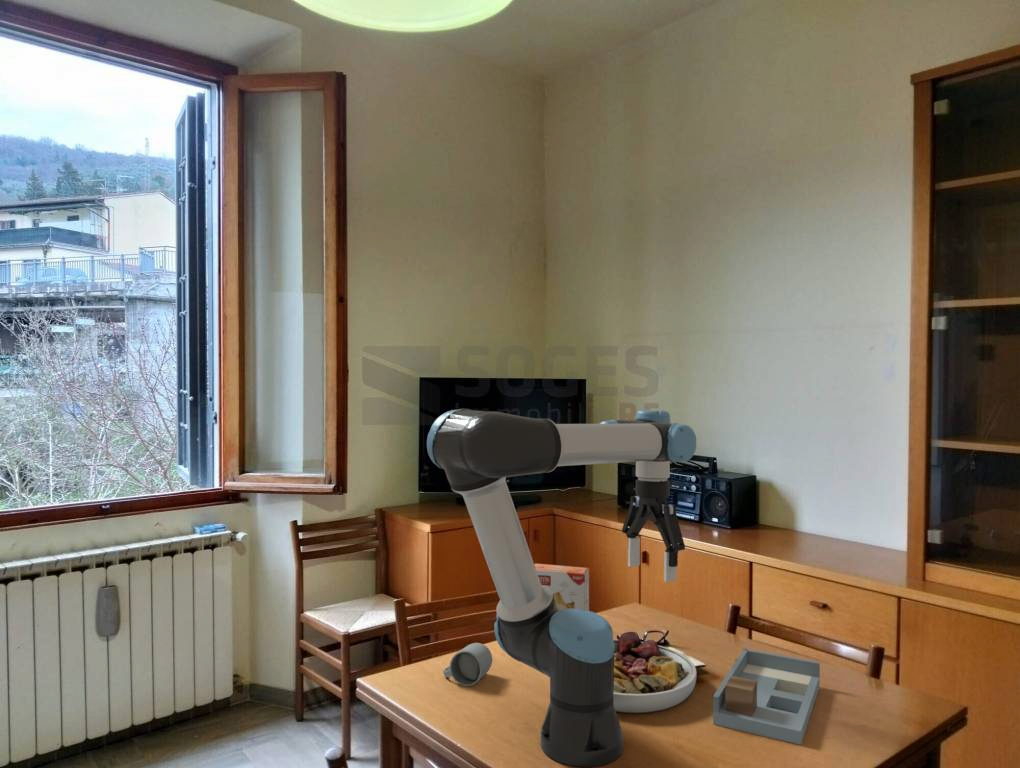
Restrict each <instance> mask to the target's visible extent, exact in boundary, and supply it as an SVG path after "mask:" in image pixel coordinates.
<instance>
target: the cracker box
mask: <svg viewBox="0 0 1020 768" xmlns="http://www.w3.org/2000/svg"><path fill="white" fill-rule="evenodd" d="M534 565H535V568H536V571H537V574H538V577H539V580H540V583H541V585H544V586H546V587H548V588H549V589H550V590H551V592H552V594H553V597H554V600H555V603H556V605H557V608H558V610H559V611H560V610H564V609H581V610H582V611H586V610H587V611H590V568H589V567H580V566H571V565H570V566H569V565H558V564H557V565H556V564H546V563H534Z"/></svg>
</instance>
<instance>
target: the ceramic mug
mask: <svg viewBox="0 0 1020 768" xmlns="http://www.w3.org/2000/svg"><path fill="white" fill-rule="evenodd" d="M491 652H492V651H491V650H490V649H489V648H488V646H487V645H485V644H483V643H481V642H473V643H470V644H467V645H466V646H465V647H464V648H462V649H460V650H459V651H457V652H456V653H455V654H454V655H453V656H451V659H450V662H449V666H447V667H445V668H444V669H443V670H442V672H443V675H444V678H450V677H452V678H453V680H454V681H455V682H457V684H459V685H460V686H463V687H471V686H474V685H476V684H477V683H478V682H479V681H481V679H482V678H483V677H484V676H486V674H487V673H488V672H489V671H490V670H491V668H492V665H493V656H492V653H491Z"/></svg>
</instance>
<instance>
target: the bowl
mask: <svg viewBox="0 0 1020 768" xmlns="http://www.w3.org/2000/svg"><path fill="white" fill-rule="evenodd" d="M613 641H614V645H615V648H614V649H615V651H614V707H615V711H616V713H617V712H619V713H629V714H630V713H631V714H632V713H634V714H635V713H637V714H638V713H639V714H640V713H652V712H659V711H663V710H666V709H670V708H672V707H675V706H677V705H679V704H681V703H682V702H684V700H686V699H687V698H689V696H690V695H691V694H692V692H693V690H694V688H695V686H696V683H697V668H696V666H695V665H694V663H693V662H692V661H691V659H689V658H688V657H687V656H685V655H684V654H682V653H680V652H678V651H677V650H674V649H672V648H669V647H666V646H662V645H658V643H657V642H656V641H655V640H653V639H647V640H645V641H641V638H640V637H639V635H637V634H636V633H635V632H630V631H629V632H628V631H627V632H624V633H622V634H621V635H620V636H619V638H618V639H613Z"/></svg>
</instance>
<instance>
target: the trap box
mask: <svg viewBox="0 0 1020 768" xmlns="http://www.w3.org/2000/svg"><path fill="white" fill-rule="evenodd" d="M820 663H821V662H820V661H815V660H809V659H803V658H798V657H794V656H786V655H783V654H776V653H771V652H765V651H759V650H754V649H749V648H743V650H742V651H741V652H740V654H739V655H738V656H737V658H736V660H735V662H734V663H733V665H732V666H731V668H730V669H729V671H728V673H727V674H726V675H725V677H724V678H723V680H722V682H721V683H720V685H719V686H718V688H717V689H716V691H715V692H714V694H713V697H712V700H713V701H712V704H713V705H712V709H713V710H712V712H713V713H712V718H713V719H712V721H713V722H712V725H715V726H720V727H724V728H727V729H731V730H732V729H733V730H737V731H741V732H745V733H749V734H752V735H753V734H754V735H757V736H761V737H766V738H771V739H774V740H779V741H782V742H786V743H791V744H795V745H799V746H802V744H803V740H804V737H805V733H806V731H807V727H808V725H809V721H810V719H811V716H812V711H813V709H814V706H815V702H816V700H817V698H818V697H817V696H818V693H819V690H820V677H821V676H820V674H821V673H820V672H821V671H820V670H821V669H820V665H821V664H820ZM731 676H735V677H740V678H745V679H749V680H754V681H757V707H756V709H755V711H754V714H753V716H752V717H751V716H747V715H742V714H738V713H734V712H729V711H725V691H726V684H727V682H728V680H729V679H730V677H731Z"/></svg>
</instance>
